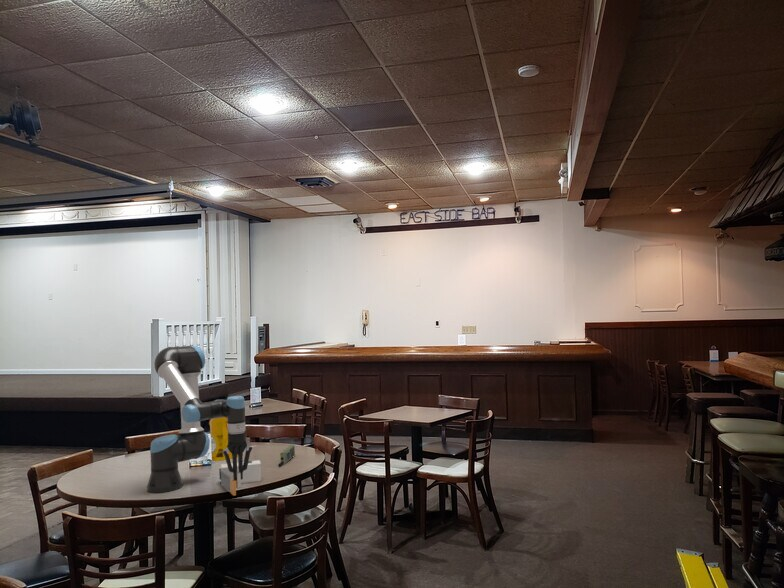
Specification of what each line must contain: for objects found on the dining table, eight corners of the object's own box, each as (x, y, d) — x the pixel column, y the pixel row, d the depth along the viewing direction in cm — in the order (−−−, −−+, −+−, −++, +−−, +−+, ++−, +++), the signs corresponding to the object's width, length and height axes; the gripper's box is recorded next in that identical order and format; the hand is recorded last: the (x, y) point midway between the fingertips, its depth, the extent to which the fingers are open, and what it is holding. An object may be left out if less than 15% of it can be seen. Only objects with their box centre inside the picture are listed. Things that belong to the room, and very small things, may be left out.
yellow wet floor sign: (218, 463, 310) (217, 411, 311) (197, 457, 327) (196, 408, 329) (247, 457, 322) (245, 407, 324) (225, 452, 339) (224, 404, 341)
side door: (221, 483, 264) (220, 470, 264) (223, 483, 265) (222, 470, 265) (233, 495, 244) (233, 481, 244) (236, 495, 245) (235, 481, 245)
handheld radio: (296, 456, 321) (282, 467, 296) (290, 456, 321) (276, 467, 296) (295, 444, 321) (281, 454, 296) (289, 444, 322) (275, 454, 297)
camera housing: (219, 485, 265) (219, 466, 265) (219, 481, 273) (219, 463, 273) (261, 480, 270) (260, 462, 271) (260, 476, 278) (259, 458, 278)
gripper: (224, 435, 242) (225, 492, 241) (254, 431, 249) (255, 486, 248) (219, 433, 249) (221, 488, 248) (248, 429, 256) (250, 482, 254)
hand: (238, 487), depth 248 cm, fingers closed
